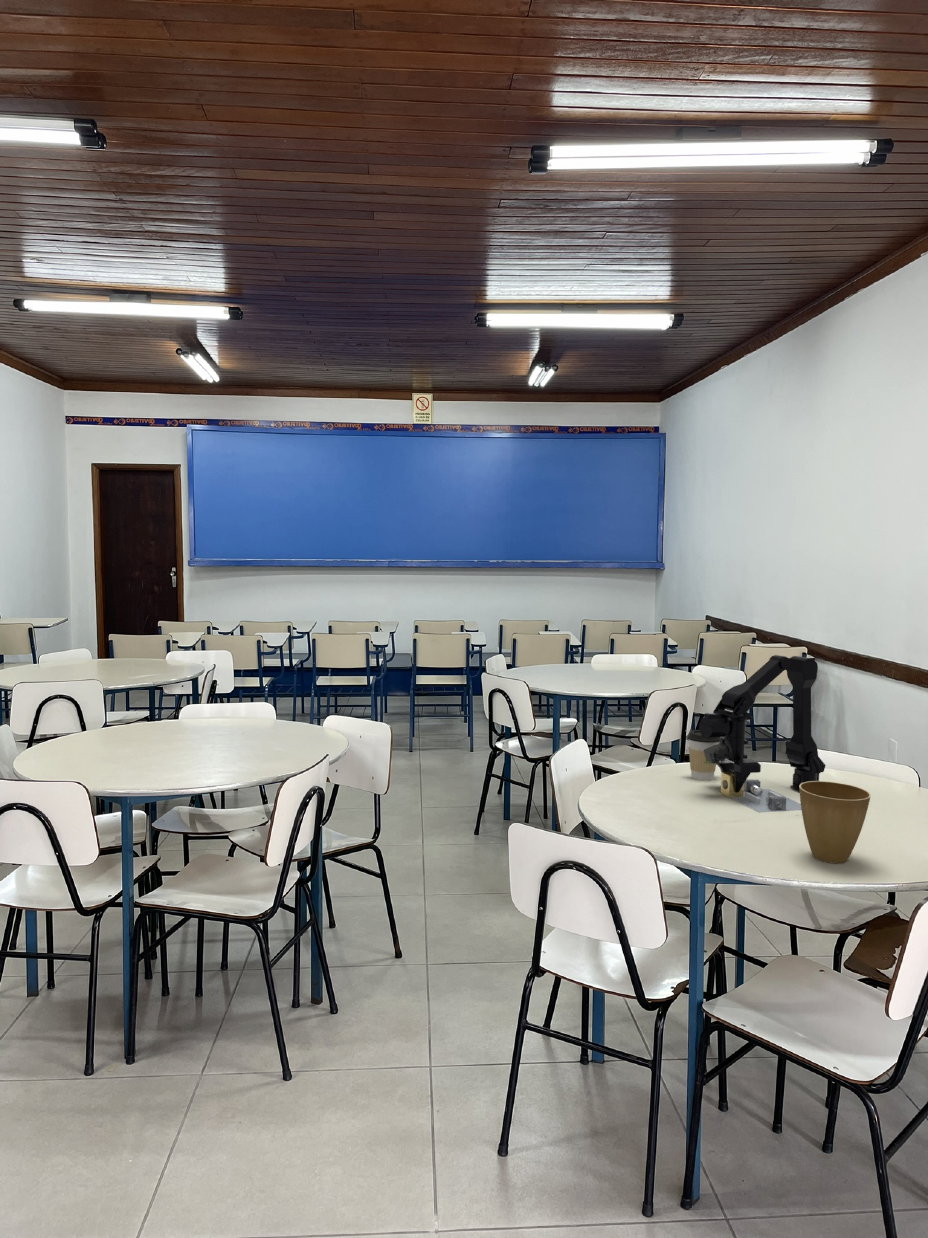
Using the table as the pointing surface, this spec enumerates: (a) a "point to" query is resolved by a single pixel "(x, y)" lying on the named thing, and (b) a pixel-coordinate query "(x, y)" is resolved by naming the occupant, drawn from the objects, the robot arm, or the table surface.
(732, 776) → the block
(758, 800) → the grey base plate
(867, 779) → the table surface
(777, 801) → the shaft
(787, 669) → the robot arm
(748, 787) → the shaft
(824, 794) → the plant pot
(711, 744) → the coffee cup
